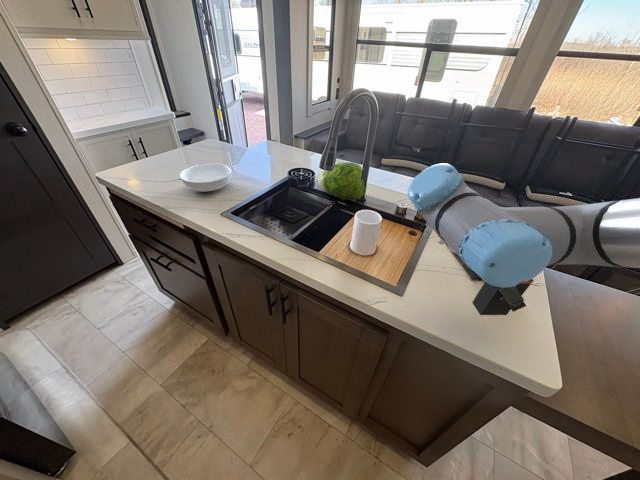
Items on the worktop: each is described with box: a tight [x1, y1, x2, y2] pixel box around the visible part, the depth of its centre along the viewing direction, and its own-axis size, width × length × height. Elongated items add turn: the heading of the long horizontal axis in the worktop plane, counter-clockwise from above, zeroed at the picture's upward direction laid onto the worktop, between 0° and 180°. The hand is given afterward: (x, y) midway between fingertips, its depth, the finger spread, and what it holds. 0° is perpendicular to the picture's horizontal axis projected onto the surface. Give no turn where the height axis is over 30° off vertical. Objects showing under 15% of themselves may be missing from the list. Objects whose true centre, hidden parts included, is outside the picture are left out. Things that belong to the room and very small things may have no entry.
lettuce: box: [317, 161, 368, 201], centre depth 108 cm, size 16×21×15 cm
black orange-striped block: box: [471, 278, 535, 316], centre depth 54 cm, size 4×6×11 cm, turn 92°
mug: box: [349, 209, 383, 256], centre depth 81 cm, size 12×8×12 cm
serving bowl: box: [179, 162, 233, 192], centre depth 111 cm, size 21×21×7 cm
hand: (512, 299), depth 55 cm, fingers closed on black orange-striped block, 3 cm apart
